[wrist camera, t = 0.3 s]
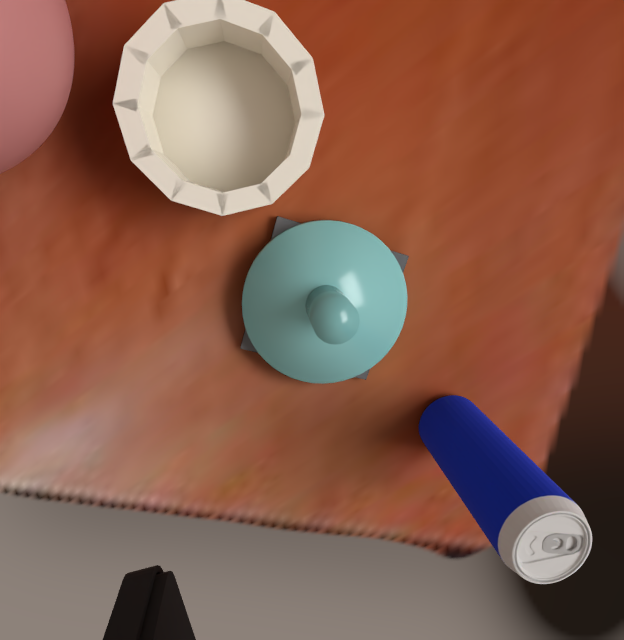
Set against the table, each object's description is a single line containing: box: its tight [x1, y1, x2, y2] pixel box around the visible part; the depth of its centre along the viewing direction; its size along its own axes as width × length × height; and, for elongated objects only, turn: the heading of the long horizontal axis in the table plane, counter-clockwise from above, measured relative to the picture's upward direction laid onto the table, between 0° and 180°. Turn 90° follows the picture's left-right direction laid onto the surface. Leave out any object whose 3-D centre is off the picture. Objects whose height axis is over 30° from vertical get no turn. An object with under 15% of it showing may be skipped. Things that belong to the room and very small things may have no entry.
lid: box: [242, 220, 407, 383], centre depth 34 cm, size 12×12×6 cm
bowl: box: [113, 0, 324, 216], centre depth 30 cm, size 12×12×5 cm
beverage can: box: [419, 395, 592, 584], centre depth 33 cm, size 5×5×15 cm
